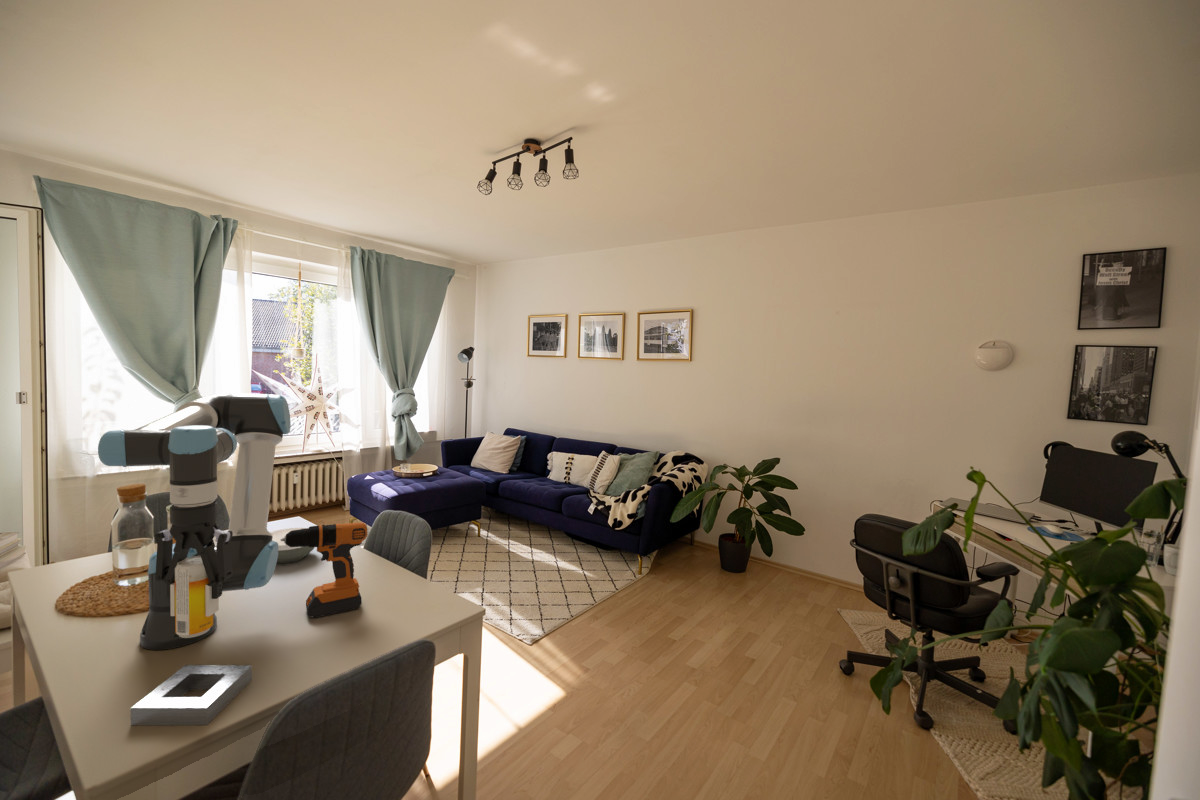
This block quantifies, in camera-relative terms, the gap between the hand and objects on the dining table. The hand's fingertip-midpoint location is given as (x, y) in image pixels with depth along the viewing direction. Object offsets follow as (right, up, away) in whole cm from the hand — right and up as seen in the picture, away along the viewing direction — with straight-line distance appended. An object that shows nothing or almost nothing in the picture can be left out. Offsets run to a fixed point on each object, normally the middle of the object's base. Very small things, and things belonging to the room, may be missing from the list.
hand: (194, 612), depth 103 cm
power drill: (+5, -17, +41) cm, 44 cm away
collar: (-1, -19, +1) cm, 19 cm away
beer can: (0, -4, 0) cm, 4 cm away
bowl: (-28, -13, +76) cm, 82 cm away
